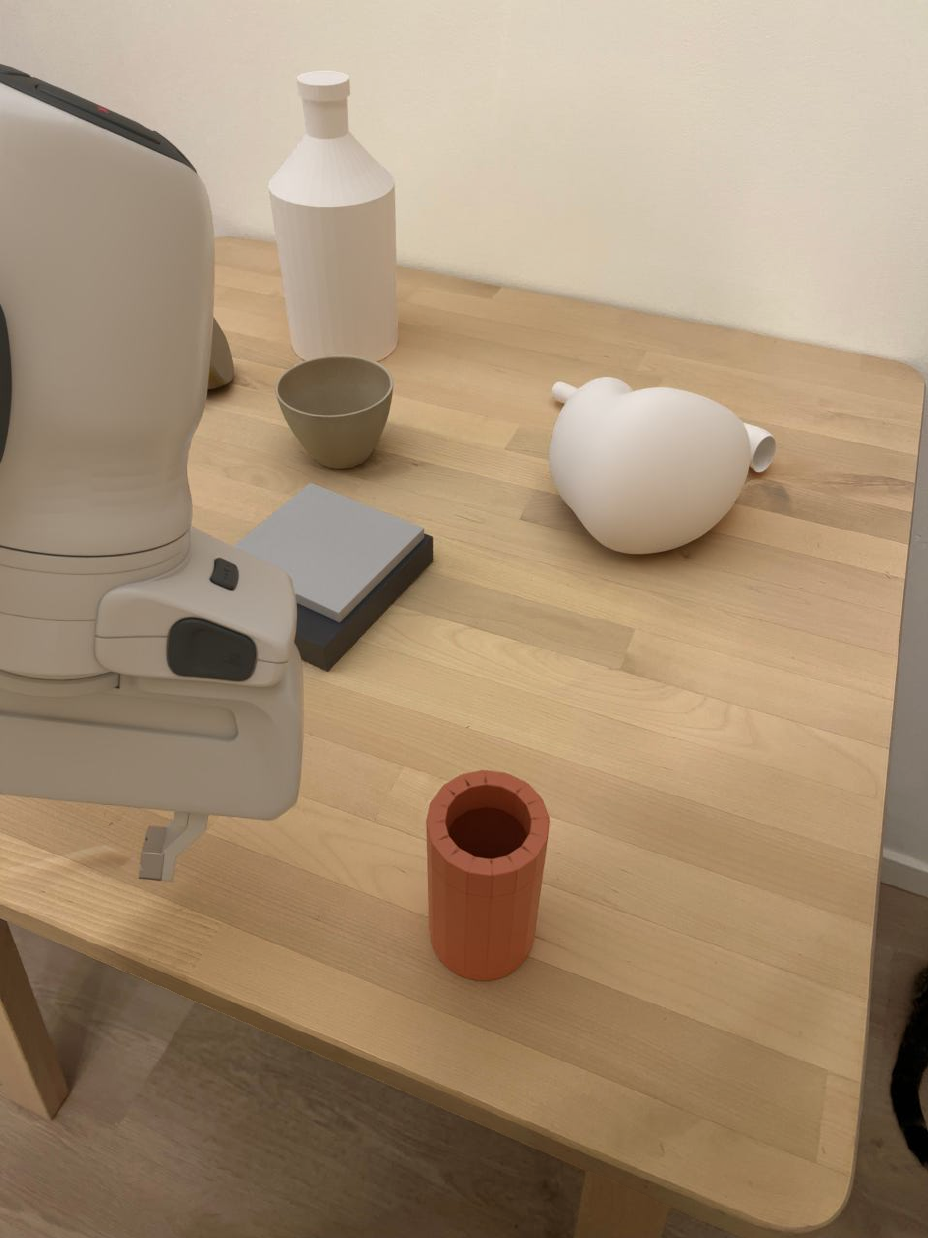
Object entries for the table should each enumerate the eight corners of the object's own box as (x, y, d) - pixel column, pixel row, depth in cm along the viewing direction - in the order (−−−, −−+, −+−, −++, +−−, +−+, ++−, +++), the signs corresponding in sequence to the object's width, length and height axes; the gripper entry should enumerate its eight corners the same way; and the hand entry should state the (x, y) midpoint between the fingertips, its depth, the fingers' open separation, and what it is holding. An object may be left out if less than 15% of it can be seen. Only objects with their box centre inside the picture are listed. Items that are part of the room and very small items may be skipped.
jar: (410, 946, 51) (403, 837, 44) (464, 866, 55) (467, 752, 47) (501, 1001, 49) (512, 897, 41) (552, 914, 53) (570, 803, 45)
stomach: (786, 532, 84) (578, 447, 97) (835, 387, 78) (606, 318, 91) (645, 592, 68) (421, 481, 82) (693, 417, 62) (441, 328, 76)
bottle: (280, 322, 102) (245, 63, 84) (385, 308, 104) (373, 54, 87) (299, 376, 94) (265, 103, 76) (413, 359, 96) (405, 92, 79)
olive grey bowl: (335, 411, 89) (328, 342, 84) (418, 446, 85) (416, 376, 80) (262, 460, 84) (250, 389, 79) (347, 500, 80) (340, 429, 74)
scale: (184, 621, 69) (174, 586, 66) (313, 511, 78) (308, 477, 76) (314, 685, 65) (309, 651, 62) (433, 560, 74) (433, 526, 72)
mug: (131, 370, 95) (163, 279, 90) (221, 414, 97) (257, 327, 92) (106, 391, 88) (139, 295, 84) (203, 438, 90) (240, 346, 86)
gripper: (-313, 567, 29) (-268, 895, 35) (331, 656, 34) (276, 933, 40) (-212, 498, 35) (-188, 791, 41) (330, 582, 40) (281, 835, 45)
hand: (45, 862), depth 40 cm, fingers open, 8 cm apart
